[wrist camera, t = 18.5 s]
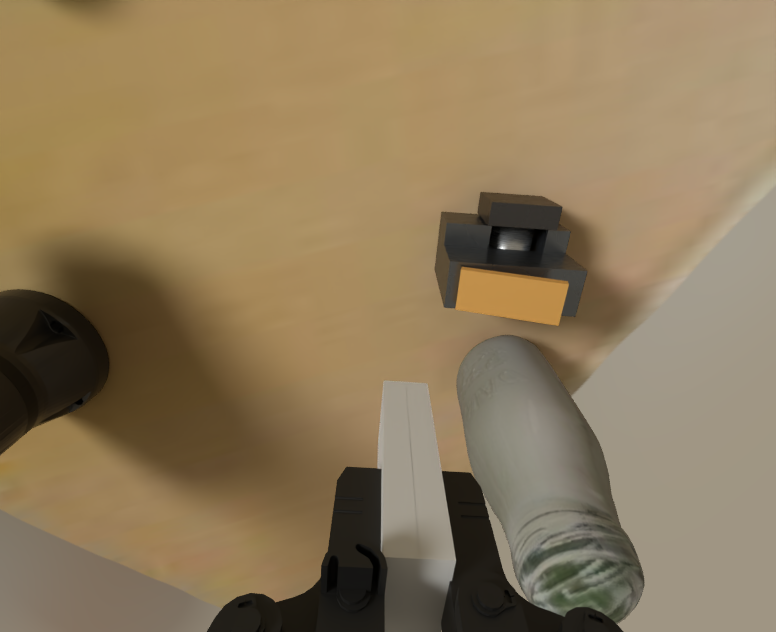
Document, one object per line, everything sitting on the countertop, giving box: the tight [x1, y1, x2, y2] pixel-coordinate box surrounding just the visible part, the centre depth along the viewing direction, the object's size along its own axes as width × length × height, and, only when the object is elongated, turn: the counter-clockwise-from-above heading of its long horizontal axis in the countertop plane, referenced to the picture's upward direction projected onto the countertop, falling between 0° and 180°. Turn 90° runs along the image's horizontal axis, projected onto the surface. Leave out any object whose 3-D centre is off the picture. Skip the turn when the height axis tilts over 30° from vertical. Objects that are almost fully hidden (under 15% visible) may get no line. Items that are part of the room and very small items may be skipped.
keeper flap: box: [455, 267, 569, 326], centre depth 34 cm, size 8×3×1 cm, turn 86°
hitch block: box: [435, 212, 587, 317], centre depth 40 cm, size 11×6×10 cm, turn 86°
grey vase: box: [457, 335, 644, 624], centre depth 37 cm, size 10×10×28 cm
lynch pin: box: [478, 192, 562, 251], centre depth 42 cm, size 6×11×6 cm, turn 176°
